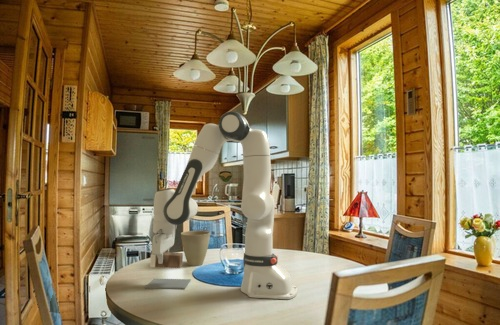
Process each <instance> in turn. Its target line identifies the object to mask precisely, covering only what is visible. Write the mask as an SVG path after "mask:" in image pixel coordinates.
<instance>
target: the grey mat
mask: <svg viewBox="0 0 500 325" xmlns="http://www.w3.org/2000/svg"><path fill="white" fill-rule="evenodd" d="M190 283H191V278H153V279H151V281H150V282H148V283H147V285H145V286H144V289H150V290H151V289H155V290H156V289H157V290H159V289H160V290H186V288H187V287H188V286H189V284H190Z"/></svg>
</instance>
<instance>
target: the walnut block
mask: <svg viewBox="0 0 500 325" xmlns="http://www.w3.org/2000/svg"><path fill="white" fill-rule="evenodd" d="M183 256H184V252H170V251H169V252H164V253H163V259H164V262H163V263H162V264H159V263H158V257H157V255H152V253H151V254H150V265H149V267H150V268H164V269H165V268H169V269H180V268H181V267H182V266H183V262H184V261H183V260H184V257H183Z"/></svg>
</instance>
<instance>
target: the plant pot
mask: <svg viewBox="0 0 500 325" xmlns="http://www.w3.org/2000/svg"><path fill="white" fill-rule="evenodd" d="M180 237H181V238H180V239H181V244H182V248H183V254H184V256H185V259H186V262H187V265H188V266H190V267H191V266H192V267H197V266H201V265H203V263H204V262H205V258H206V255H207V252H208V249H209V244H210V243H209V242H210V237H211V232H210V231H207V230H189V231H183V232H180Z"/></svg>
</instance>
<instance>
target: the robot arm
mask: <svg viewBox="0 0 500 325" xmlns="http://www.w3.org/2000/svg"><path fill="white" fill-rule="evenodd" d="M225 143H235V144H238V143H240V144H241V148H242V160H243V161H242V163H243V164H242V166H243V181H242V182H243V183H242V193H241V204H240V208H241V212H242V214H243V215H244V217H246V218H247V220H246V221H247V223H246V228H245V231H244V253H243V260H242V261H243V264H242V265H243V277H242V280H241V282H242V283H241V284H240V285H241V286H240V288H239V289H240V291H241V292H242V293H243V294H245V295H247V296H248V297H249V298H256V299H257V298H258V299H259V298H260V299H275V300H291V299H293V298H295V297H296V296H297V295H298V293H299V290H298V289H299V288H298V287H297V286H296V285H294V284H293V281H292V277H291V274H290V273H289V272H288V271H287V270H286V269H285V268H283V267H282V266H281V265H280V264H278V259H279V258H278V257H279V256H278V254H277V255H275V254H274V253H273V250H274V247H273V245H274V244H273V242H274V241H273V239H274V238H273V237H274V236H273V234H274V233H273V232H274V226H275V225H274V224H275V222H274V221H275V208H276V207H275V206H276V204H275V202H276V201H275V198H274V195H272V194H271V181H272V166H271V163H272V162H271V150H270V149H271V148H270V143H269V138H268V134H267V133H266V132H265V131H264V130H263V129H258V128H251V127H250V124H249V122H248V120H247V119H246V117H245V116H243V115H242V114H241V113H240V112H237V111H233V110H231V111H227V112H225V113H223V114H222V115H221V117H220V118H219V121H218V124H216V123H212V122H211V123H206V124H204V125H203V126H202V128H201V130H200V131H199V133H198V135H197V137H196V139H195V142H194V144H193V147H192V149H191V153H190V155H189V158H188V160H187V164H186V166H185V168H184V170H183V172H182V175H181V178H180V179H179V182H178V183H177V186H176V189H174V188H164V189H160V190H157V191H156V192H155V195H154V199H153V213H154V215H153V216H154V217H153V221H152V233H154V235H153V236H152V240H151V241H152V242H151V254H152V255H157V257H158V263H159V264H162V263H163V262H164V259H163V253H164V252H170V249H171V248H172V247H173V246H174V244H175V238H176V230H177V226H178V225H179V226H180V225H182V224H183V223H185V222H187V221H189V220H191V219H193V218H195V216H196V215H197V213H198V210H199V206H198V202H197V200H196V199H194V198H192V195H193V192H194V191H195V188H196V185H197V184H198V182H199V180H200V179H201V178H202V176H204V175H205V174H206V173H208V172H209V171H210V170H212V169H213V168H214V166H215V164H216V163H217V160H218V159H219V156H220V154H221V150H222V147H223V146H224V144H225Z"/></svg>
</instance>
